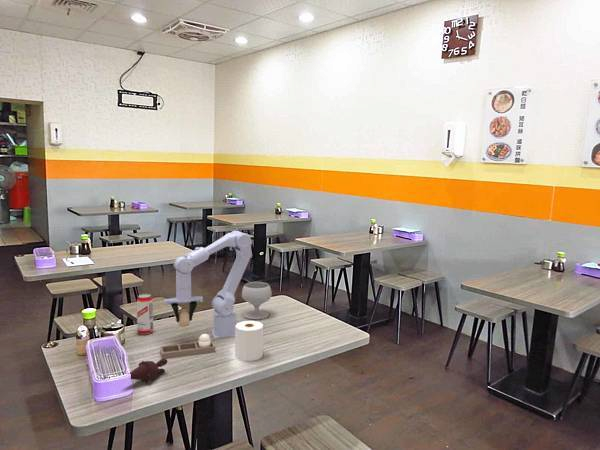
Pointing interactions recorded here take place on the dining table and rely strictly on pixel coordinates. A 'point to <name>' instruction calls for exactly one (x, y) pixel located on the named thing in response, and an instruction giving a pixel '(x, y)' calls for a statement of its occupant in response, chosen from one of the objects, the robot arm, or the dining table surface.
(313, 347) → the dining table surface
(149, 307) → the beer can
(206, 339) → the cream egg
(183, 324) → the tan egg
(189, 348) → the egg carton
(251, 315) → the chalice
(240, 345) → the toilet paper
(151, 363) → the brown plush toy
